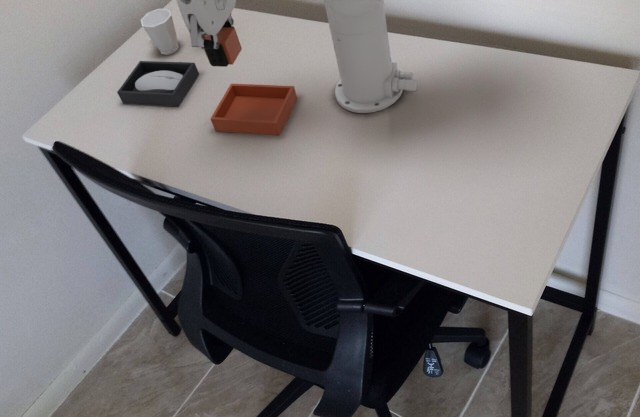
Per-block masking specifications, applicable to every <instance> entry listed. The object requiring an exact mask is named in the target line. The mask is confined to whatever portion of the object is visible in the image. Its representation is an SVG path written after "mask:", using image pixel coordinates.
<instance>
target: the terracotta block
mask: <svg viewBox="0 0 640 417" xmlns="http://www.w3.org/2000/svg"><path fill="white" fill-rule="evenodd" d="M217 38H218V42H219V45H222V47H223V50H224V52H225V55H226V58H227V60H228V63H229V64H228V66H229V65H234V63H235V62H236V60H237V58H238V56H239V55H240V54H241V51H242V49H243V48H242V45H241V42H240V39H239V37H238V33H237V30H236V28H235V26H234V27H222V28H221V29H220V31H219V32H218V33H217ZM206 39H208V40H211V37H210V35H206ZM203 50H204V52H205V55H206V57H207V58H206V59H207V60H208V63H209V64H210V61H209V59H208V56H207V54H206V51H205V49H203Z"/></svg>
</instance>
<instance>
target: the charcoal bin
mask: <svg viewBox="0 0 640 417" xmlns="http://www.w3.org/2000/svg"><path fill="white" fill-rule="evenodd" d="M155 71H173V72H176V73H179V74H181V75H183V77H182V79H181V80H180V82H179V83H178V85H177V86H176V88H175V89H174V91H173V92H172V93H159V92H140V91H138V90H137V89H136V87H135V82H136V81H137V80H138V79H139V78H140V77H142V76H143V75H146V74H148V73H151V72H155ZM199 76H200V71H199V70H198V68H197V65H196V62H186V61H184V62H183V61H155V60H152V61H151V60H139V61H138V63H137V64H136V65H135V67H134V68H133V69H132V71H131V72H130V74H129V75H128V77H126V79H125V81H124V82H123V84H121V86H120V87H119V89H118V90H117V91H116V92H117V96H119V99H120V101H121V102H122V104H124V105H141V106H143V105H144V106H157V107H158V106H159V107H176V108H179V107H180V106H181V104H182V102H183V101H184V99H185V97H187V95H188V93H189V92H190V90H191V89H192V87H193V85H194V84H195V82H196V81H197V79H198V77H199Z"/></svg>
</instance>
